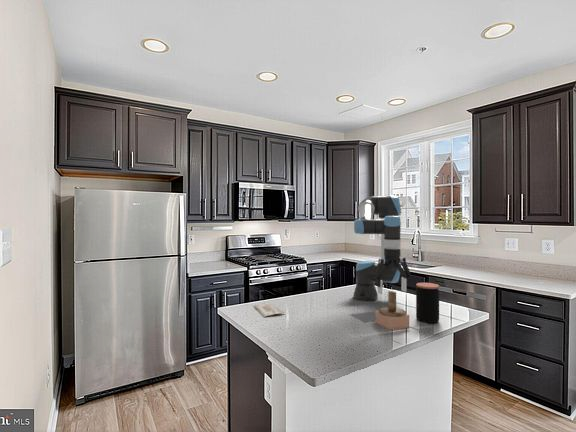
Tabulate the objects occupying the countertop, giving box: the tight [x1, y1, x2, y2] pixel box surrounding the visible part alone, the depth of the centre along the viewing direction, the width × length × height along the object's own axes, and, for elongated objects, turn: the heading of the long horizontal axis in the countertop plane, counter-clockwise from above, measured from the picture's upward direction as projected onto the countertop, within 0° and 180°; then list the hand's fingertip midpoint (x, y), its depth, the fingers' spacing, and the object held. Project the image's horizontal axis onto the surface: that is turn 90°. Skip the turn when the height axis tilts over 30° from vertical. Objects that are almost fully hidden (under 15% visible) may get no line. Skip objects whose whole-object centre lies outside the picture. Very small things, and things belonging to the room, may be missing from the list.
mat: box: [349, 311, 376, 324], centre depth 172 cm, size 14×14×1 cm
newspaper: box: [253, 302, 286, 318], centre depth 185 cm, size 23×12×2 cm, turn 20°
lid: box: [378, 290, 407, 317], centre depth 160 cm, size 12×12×10 cm
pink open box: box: [375, 309, 410, 330], centre depth 160 cm, size 11×11×6 cm
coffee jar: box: [415, 282, 440, 325], centre depth 167 cm, size 11×11×18 cm
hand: (392, 292), depth 160 cm, fingers open, 13 cm apart
